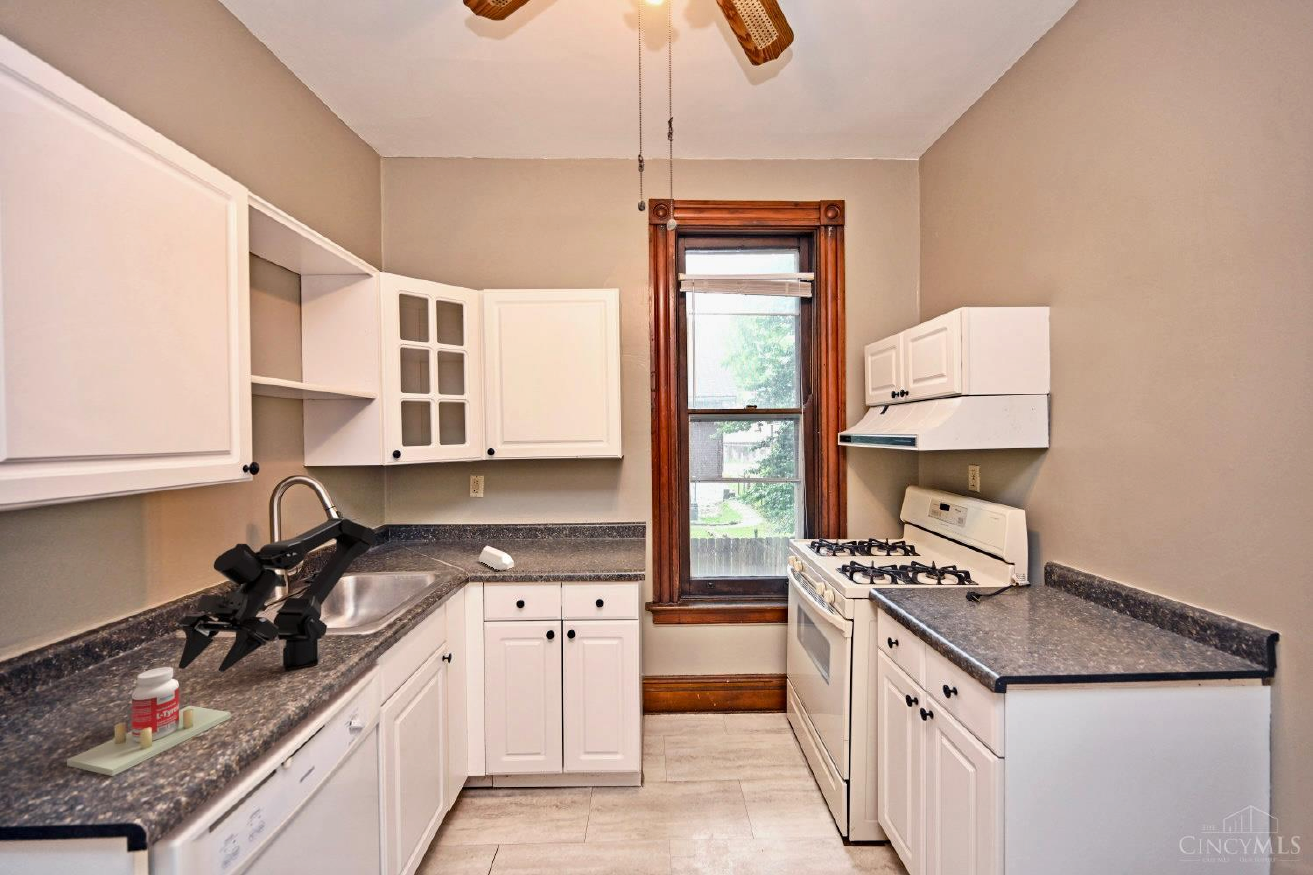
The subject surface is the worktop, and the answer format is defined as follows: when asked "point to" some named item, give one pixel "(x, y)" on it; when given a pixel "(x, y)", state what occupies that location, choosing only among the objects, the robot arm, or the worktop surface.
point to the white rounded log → (496, 558)
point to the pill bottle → (155, 703)
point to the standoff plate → (144, 742)
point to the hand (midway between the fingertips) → (200, 669)
